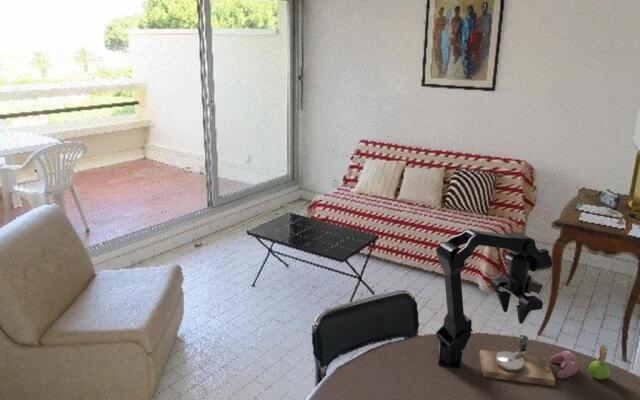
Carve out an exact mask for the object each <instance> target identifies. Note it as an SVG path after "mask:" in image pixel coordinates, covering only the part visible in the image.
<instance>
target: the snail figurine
mask: <svg viewBox="0 0 640 400" xmlns="http://www.w3.org/2000/svg"><path fill="white" fill-rule="evenodd" d="M599 347H600V348H599V355H598V358H597V360H594V361H592V362H590V364H589V366H588V370H589V373H590V376H592V377H593V378H595V379H596V380H605V379H607V378H608V377H609V375H610V371H611V369H610V368H609V367H610V366H609V365H608V364H607V363H606V359H607V355H608V350H609V347H608V348H607V347H606V346H605V345H600V346H599Z"/></svg>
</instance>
